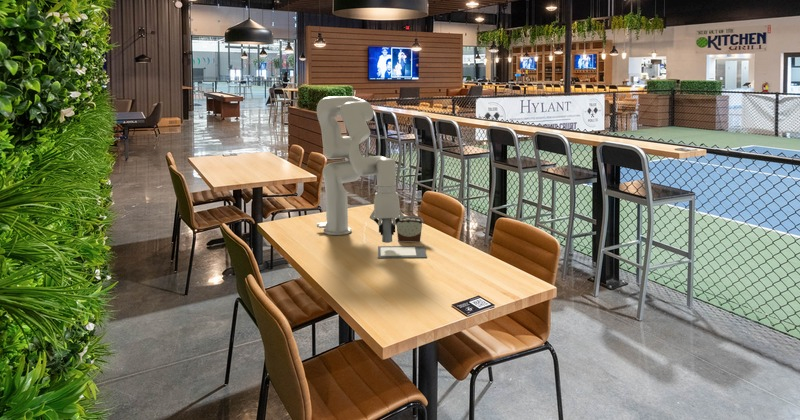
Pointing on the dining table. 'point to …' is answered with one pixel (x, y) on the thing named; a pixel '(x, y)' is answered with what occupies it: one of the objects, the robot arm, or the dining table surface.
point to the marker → (387, 230)
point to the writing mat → (401, 252)
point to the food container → (409, 229)
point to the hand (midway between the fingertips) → (387, 233)
